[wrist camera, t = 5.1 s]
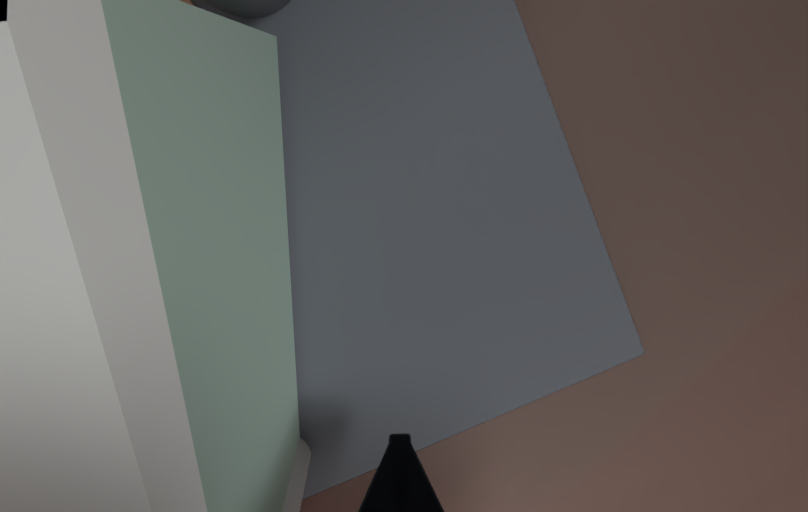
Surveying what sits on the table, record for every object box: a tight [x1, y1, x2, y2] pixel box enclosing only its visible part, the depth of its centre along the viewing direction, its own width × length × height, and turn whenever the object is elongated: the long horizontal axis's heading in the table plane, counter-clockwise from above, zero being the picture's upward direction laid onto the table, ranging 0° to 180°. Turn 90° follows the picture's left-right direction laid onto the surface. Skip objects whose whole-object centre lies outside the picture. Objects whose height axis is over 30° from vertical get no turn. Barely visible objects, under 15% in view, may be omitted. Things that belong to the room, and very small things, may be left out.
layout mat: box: [179, 0, 645, 500], centre depth 8 cm, size 16×26×1 cm, turn 29°
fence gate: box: [0, 0, 311, 512], centre depth 7 cm, size 12×2×7 cm, turn 176°
